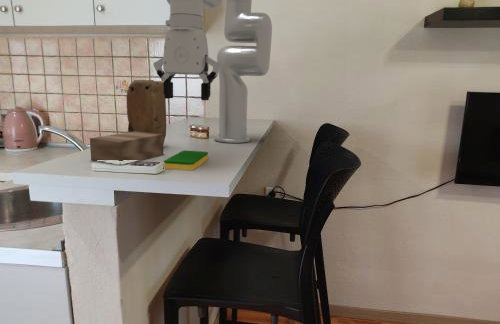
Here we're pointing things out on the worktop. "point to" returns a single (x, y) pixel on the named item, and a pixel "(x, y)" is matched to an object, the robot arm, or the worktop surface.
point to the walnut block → (127, 146)
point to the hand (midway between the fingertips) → (186, 99)
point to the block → (146, 107)
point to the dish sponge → (186, 160)
